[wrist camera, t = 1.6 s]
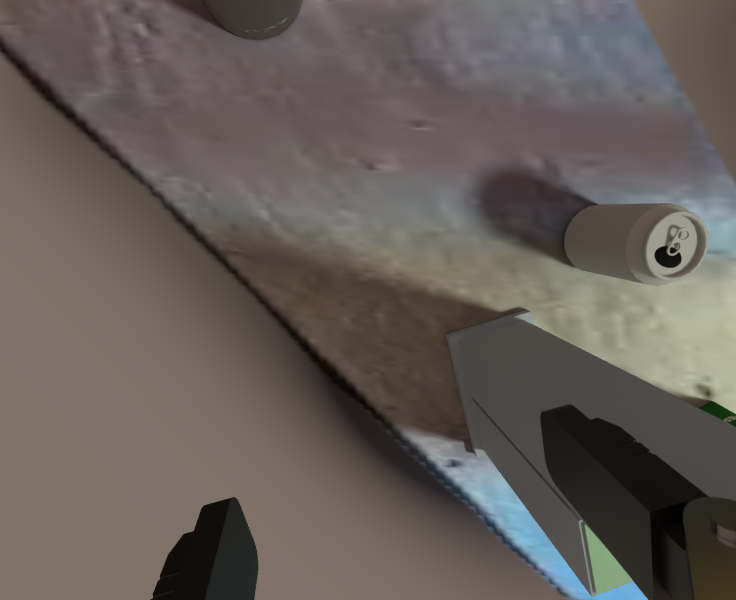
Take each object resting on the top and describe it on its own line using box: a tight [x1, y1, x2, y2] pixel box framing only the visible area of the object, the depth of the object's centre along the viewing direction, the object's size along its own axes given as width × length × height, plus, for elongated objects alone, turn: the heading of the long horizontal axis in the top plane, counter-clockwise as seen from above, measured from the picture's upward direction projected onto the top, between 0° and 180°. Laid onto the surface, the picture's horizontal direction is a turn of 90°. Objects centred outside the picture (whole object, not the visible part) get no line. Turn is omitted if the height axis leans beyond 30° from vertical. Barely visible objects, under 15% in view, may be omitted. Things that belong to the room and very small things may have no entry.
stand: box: [446, 310, 736, 596], centre depth 35 cm, size 16×10×32 cm, turn 15°
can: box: [564, 203, 708, 286], centre depth 43 cm, size 8×8×12 cm
